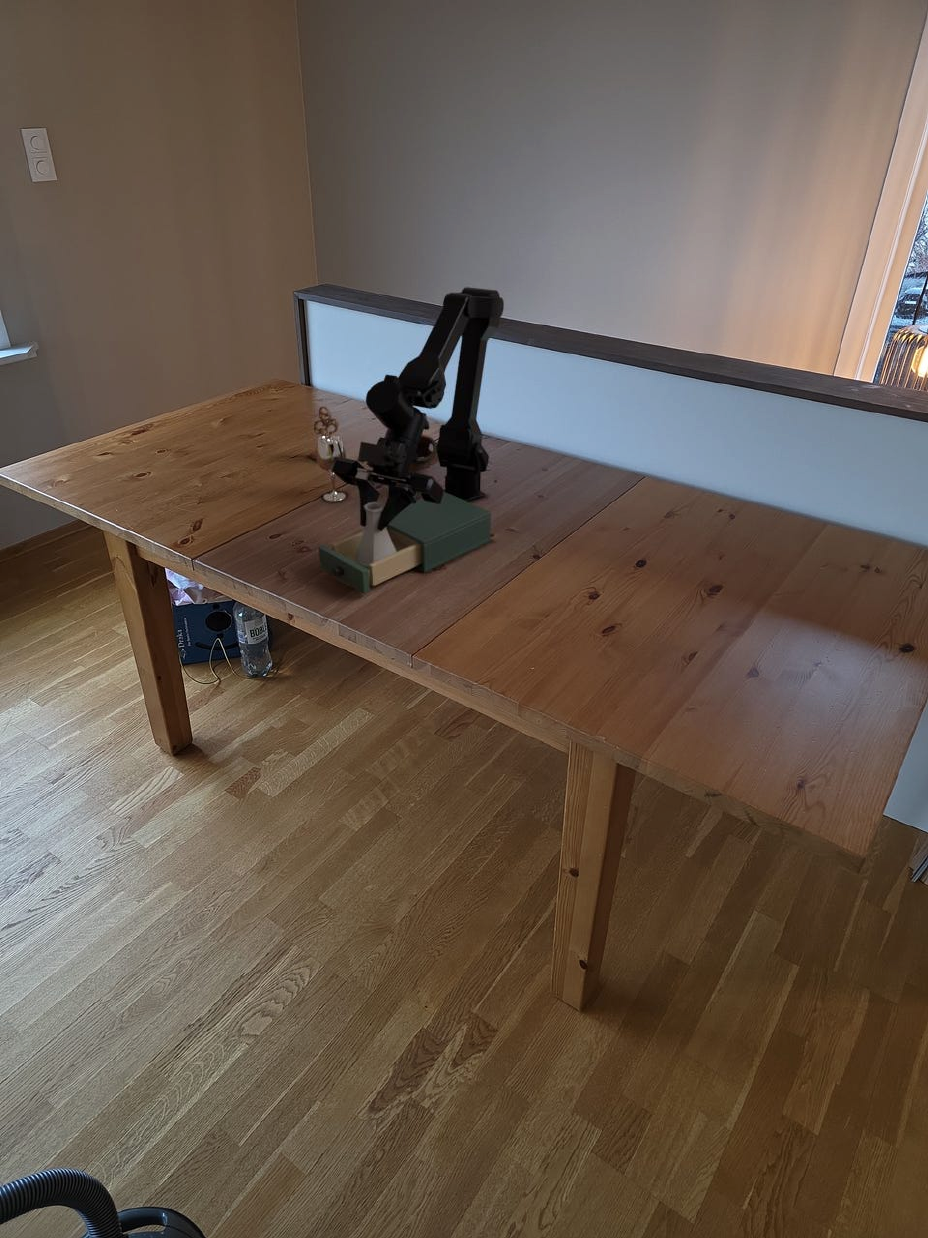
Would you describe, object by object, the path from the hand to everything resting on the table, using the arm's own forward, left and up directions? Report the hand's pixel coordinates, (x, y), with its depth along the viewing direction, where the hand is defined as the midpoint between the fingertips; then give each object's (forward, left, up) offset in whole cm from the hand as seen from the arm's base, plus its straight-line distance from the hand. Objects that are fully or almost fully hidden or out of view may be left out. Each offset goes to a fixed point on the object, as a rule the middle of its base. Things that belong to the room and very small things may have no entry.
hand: (370, 527), depth 132 cm
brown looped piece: (-17, -49, -9) cm, 53 cm away
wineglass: (-9, -31, -9) cm, 33 cm away
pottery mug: (-31, -35, -9) cm, 47 cm away
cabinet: (-14, -3, -9) cm, 17 cm away
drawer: (-1, 0, -8) cm, 8 cm away
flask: (-1, -1, -7) cm, 7 cm away
